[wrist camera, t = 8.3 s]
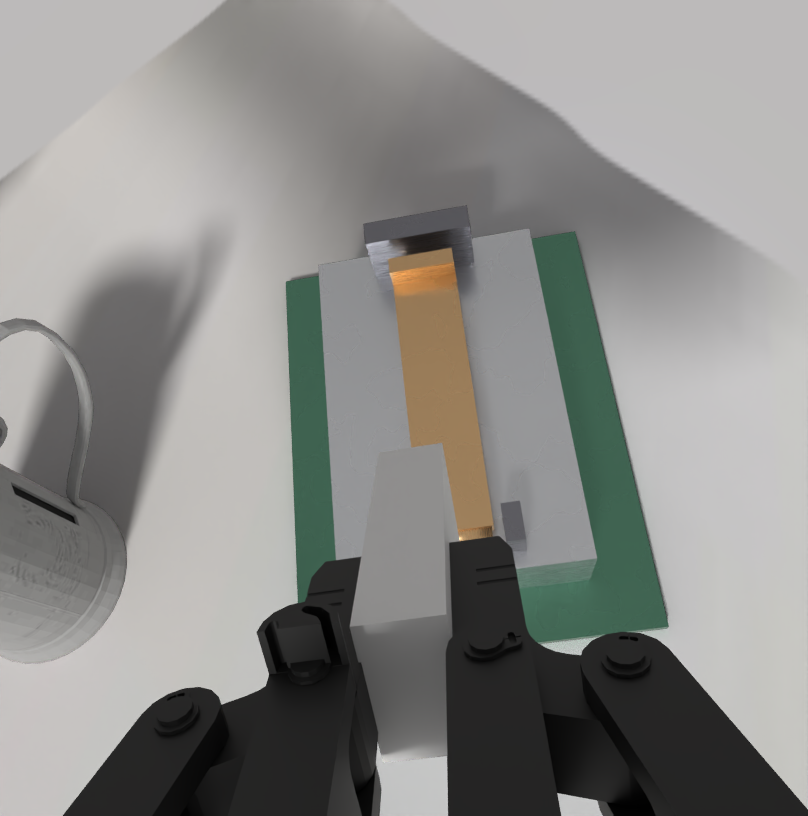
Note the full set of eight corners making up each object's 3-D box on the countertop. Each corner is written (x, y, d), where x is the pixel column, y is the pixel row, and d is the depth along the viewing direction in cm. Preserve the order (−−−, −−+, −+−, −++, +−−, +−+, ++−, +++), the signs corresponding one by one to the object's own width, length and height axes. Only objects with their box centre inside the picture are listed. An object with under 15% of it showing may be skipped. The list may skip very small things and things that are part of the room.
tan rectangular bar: (497, 547, 32) (494, 533, 30) (426, 556, 32) (418, 543, 30) (456, 276, 38) (451, 247, 35) (396, 286, 38) (387, 258, 36)
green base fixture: (666, 628, 35) (701, 596, 27) (304, 672, 36) (247, 653, 29) (574, 237, 44) (582, 137, 37) (288, 287, 46) (242, 200, 38)
